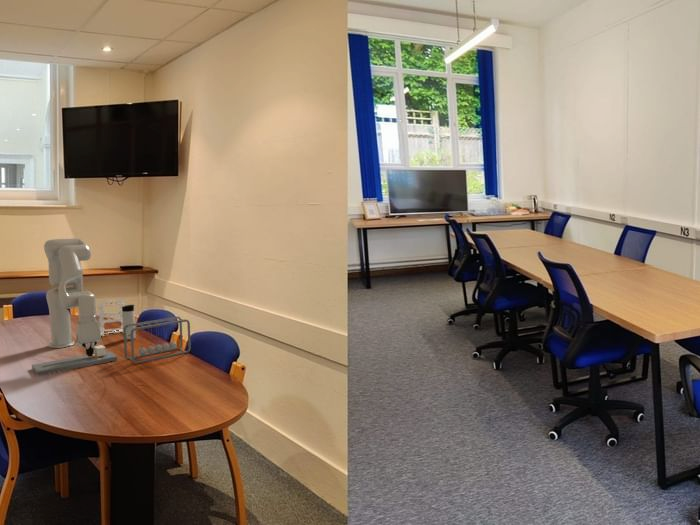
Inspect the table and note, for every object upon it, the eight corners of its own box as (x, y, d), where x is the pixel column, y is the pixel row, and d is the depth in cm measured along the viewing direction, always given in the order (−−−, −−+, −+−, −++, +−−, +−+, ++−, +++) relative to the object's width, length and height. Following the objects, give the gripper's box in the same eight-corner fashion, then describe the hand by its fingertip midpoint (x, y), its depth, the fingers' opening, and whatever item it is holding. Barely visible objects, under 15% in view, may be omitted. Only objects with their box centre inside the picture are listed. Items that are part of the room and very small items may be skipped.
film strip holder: (124, 329, 311) (122, 297, 308) (127, 334, 299) (125, 300, 297) (98, 332, 303) (96, 299, 301) (100, 337, 291) (98, 303, 289)
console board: (32, 369, 236) (31, 364, 235) (109, 354, 258) (108, 350, 258) (37, 376, 226) (37, 371, 226) (117, 360, 248) (117, 356, 248)
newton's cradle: (132, 365, 242) (130, 328, 239) (124, 360, 249) (122, 325, 247) (191, 352, 262) (190, 318, 260) (182, 348, 270) (180, 315, 268)
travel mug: (131, 340, 284) (129, 306, 281) (121, 340, 285) (119, 305, 283) (138, 338, 290) (136, 303, 288) (128, 337, 291) (126, 303, 289)
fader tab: (94, 354, 250) (93, 346, 249) (102, 353, 252) (102, 345, 252) (97, 357, 246) (96, 348, 245) (105, 355, 248) (105, 347, 248)
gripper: (102, 315, 252) (104, 351, 254) (68, 320, 242) (71, 357, 244) (106, 318, 246) (108, 354, 248) (72, 322, 236) (75, 360, 238)
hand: (90, 355), depth 246 cm, fingers closed
